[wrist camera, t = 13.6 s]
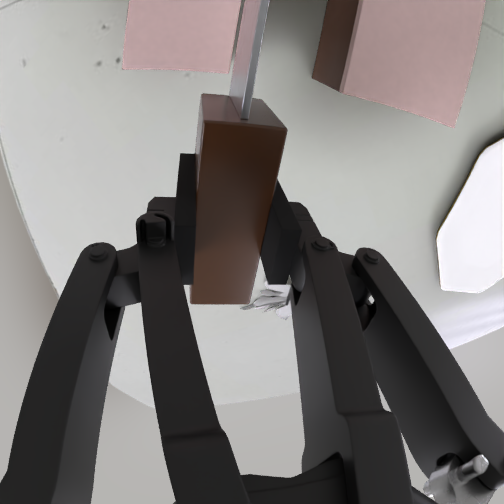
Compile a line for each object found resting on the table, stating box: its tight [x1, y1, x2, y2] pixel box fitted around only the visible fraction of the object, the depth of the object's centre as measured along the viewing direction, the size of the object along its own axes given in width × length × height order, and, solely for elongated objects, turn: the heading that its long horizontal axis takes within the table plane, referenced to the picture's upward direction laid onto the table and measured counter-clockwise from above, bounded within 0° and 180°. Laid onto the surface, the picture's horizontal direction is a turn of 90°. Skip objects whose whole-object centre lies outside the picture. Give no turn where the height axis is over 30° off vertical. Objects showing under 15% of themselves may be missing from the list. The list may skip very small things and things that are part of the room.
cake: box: [312, 0, 486, 128], centre depth 17 cm, size 10×12×6 cm
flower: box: [240, 280, 292, 320], centre depth 36 cm, size 8×8×3 cm
